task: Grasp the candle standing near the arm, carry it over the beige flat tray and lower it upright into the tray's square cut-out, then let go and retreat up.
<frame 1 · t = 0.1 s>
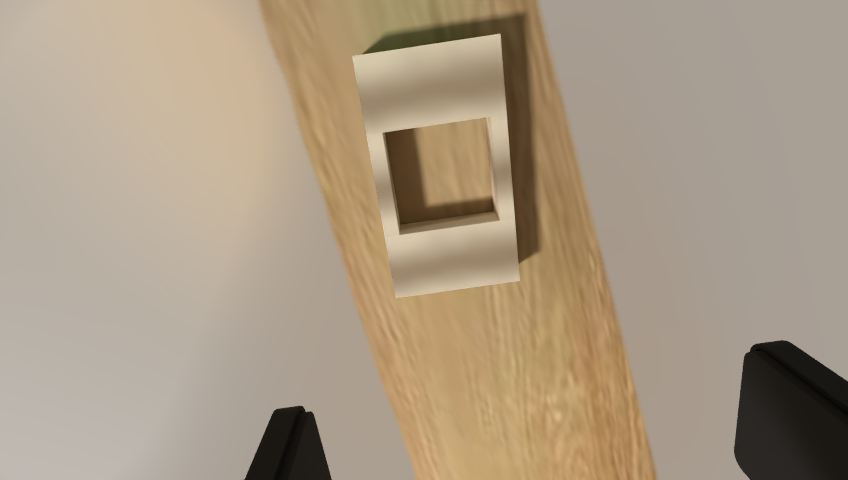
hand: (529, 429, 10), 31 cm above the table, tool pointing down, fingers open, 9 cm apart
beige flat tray: (440, 171, 39), on the table
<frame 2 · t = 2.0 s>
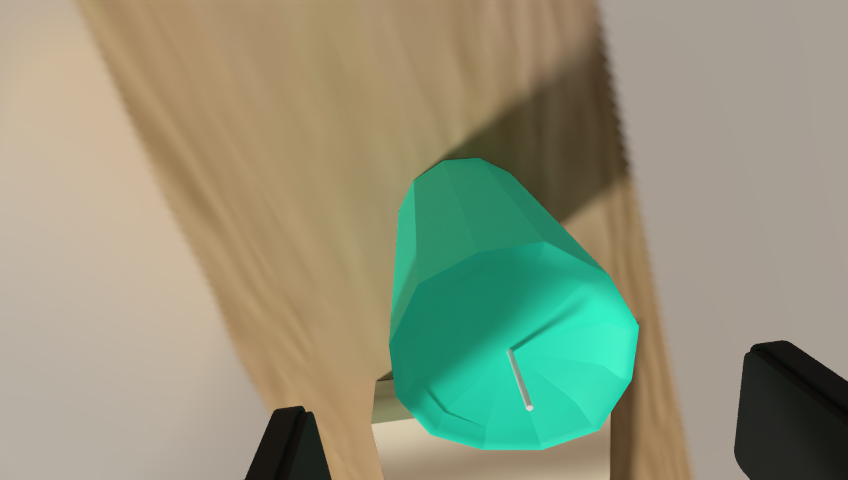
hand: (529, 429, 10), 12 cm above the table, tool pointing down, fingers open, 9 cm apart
candle: (463, 221, 21), on the table
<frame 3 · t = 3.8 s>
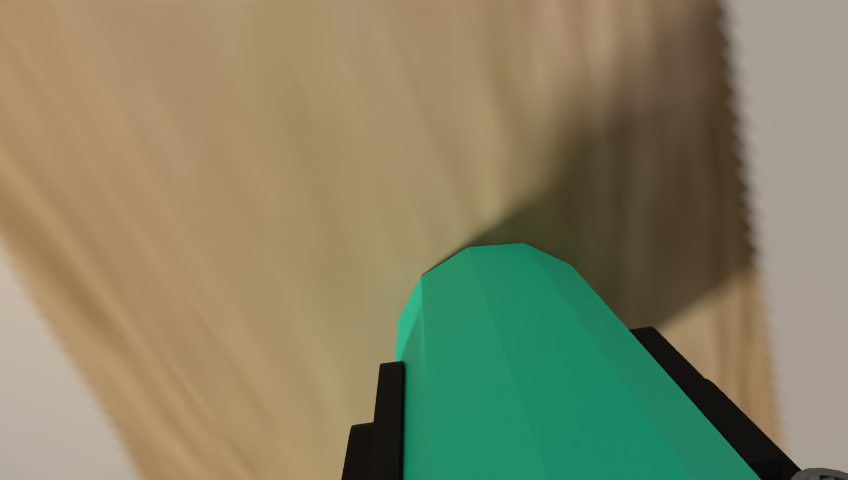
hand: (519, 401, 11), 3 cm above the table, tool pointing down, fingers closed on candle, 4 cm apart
candle: (496, 332, 14), on the table, touching gripper
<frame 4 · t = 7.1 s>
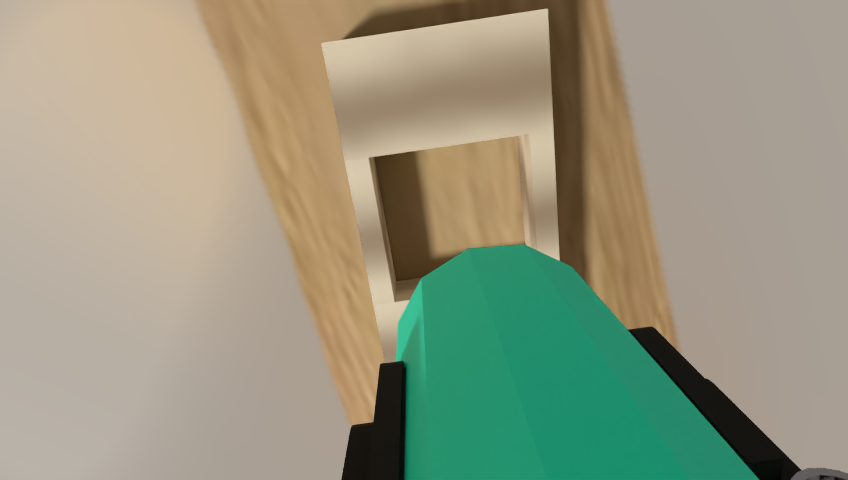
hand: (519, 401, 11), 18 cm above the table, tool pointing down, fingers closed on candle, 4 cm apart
candle: (496, 334, 14), point 15 cm above the table, touching gripper
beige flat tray: (453, 208, 28), on the table
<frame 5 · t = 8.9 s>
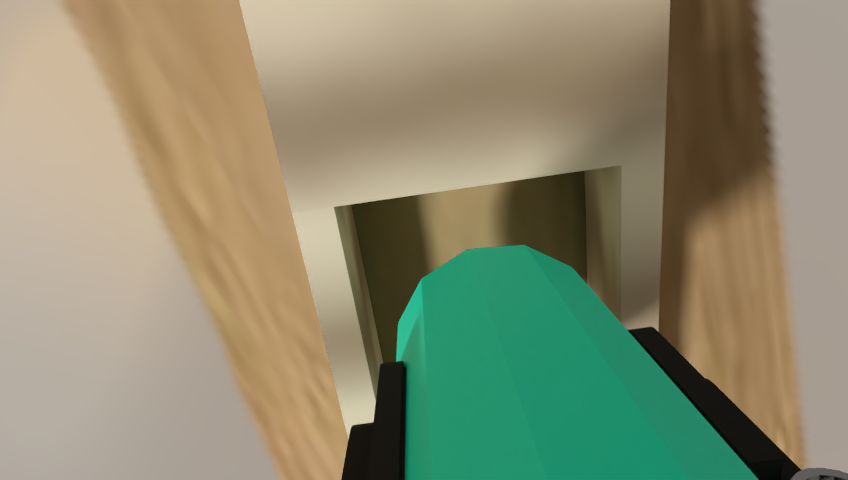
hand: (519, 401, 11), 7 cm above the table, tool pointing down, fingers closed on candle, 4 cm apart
candle: (496, 334, 14), point 4 cm above the table, touching gripper
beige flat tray: (477, 276, 17), on the table
when the fingers open (5 cm above the table, at t = 10.3 s): candle drops 2 cm, resting in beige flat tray.
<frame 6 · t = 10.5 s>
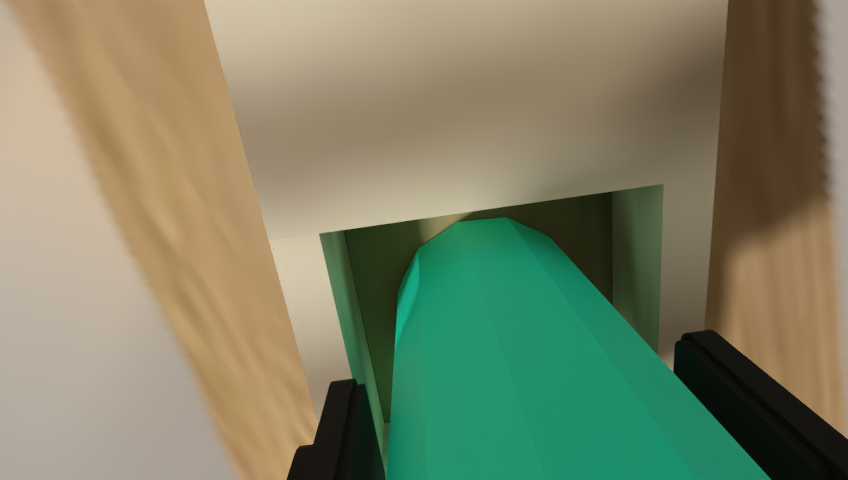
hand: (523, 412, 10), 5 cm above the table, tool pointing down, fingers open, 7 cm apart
candle: (485, 298, 15), resting in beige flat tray
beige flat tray: (487, 306, 15), on the table
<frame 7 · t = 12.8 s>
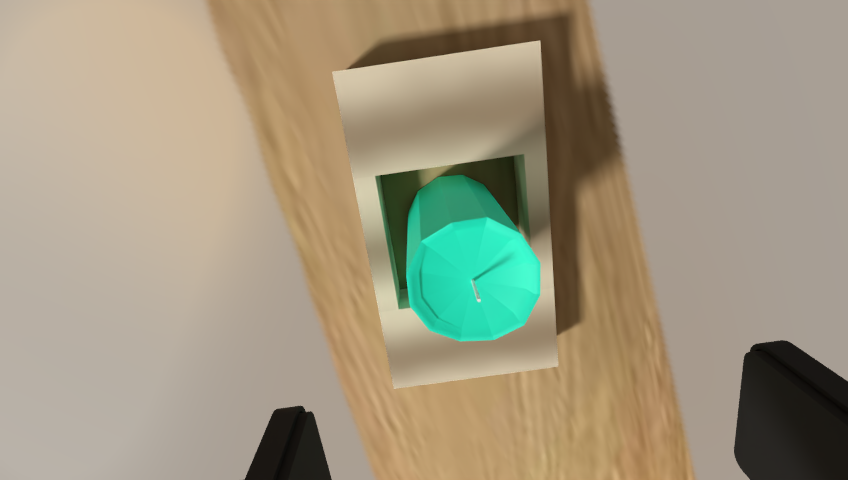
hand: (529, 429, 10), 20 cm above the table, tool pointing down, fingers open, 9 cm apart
candle: (453, 218, 30), resting in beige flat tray
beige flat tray: (453, 221, 30), on the table
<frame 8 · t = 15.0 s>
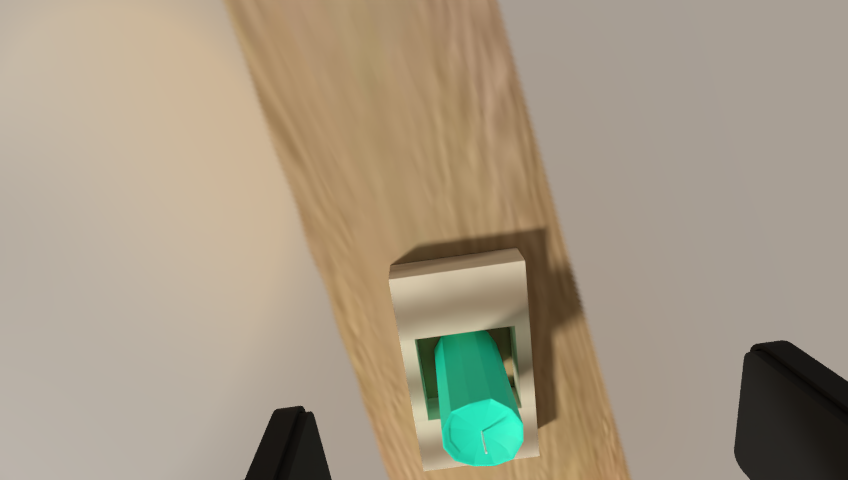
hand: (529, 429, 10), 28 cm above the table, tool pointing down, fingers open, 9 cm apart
candle: (465, 352, 42), resting in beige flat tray
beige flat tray: (466, 355, 42), on the table
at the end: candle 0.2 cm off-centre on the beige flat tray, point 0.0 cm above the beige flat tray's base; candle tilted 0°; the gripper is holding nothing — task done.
